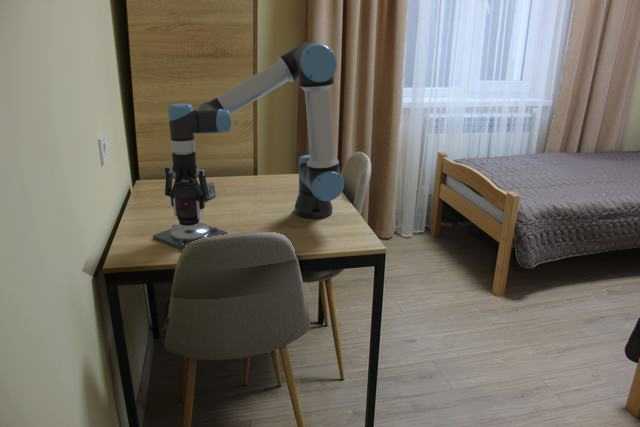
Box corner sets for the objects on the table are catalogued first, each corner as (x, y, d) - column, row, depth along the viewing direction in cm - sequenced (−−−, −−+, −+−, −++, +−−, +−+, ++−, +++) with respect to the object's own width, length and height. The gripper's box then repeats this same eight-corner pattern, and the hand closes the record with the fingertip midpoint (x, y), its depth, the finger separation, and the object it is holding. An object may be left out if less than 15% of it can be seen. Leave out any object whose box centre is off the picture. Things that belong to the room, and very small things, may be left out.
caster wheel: (202, 197, 227) (222, 196, 224) (187, 199, 217) (208, 198, 213) (200, 182, 226) (220, 181, 223) (186, 183, 216) (207, 182, 213)
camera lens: (199, 226, 174) (196, 184, 168) (175, 227, 173) (171, 184, 168) (203, 218, 181) (200, 177, 176) (179, 218, 181) (176, 177, 175)
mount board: (227, 235, 181) (227, 227, 180) (186, 252, 167) (186, 244, 166) (193, 223, 191) (192, 215, 190) (152, 238, 178) (151, 230, 177)
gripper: (217, 151, 170) (221, 215, 178) (160, 147, 174) (166, 209, 182) (208, 156, 163) (212, 223, 171) (149, 152, 167) (155, 217, 175)
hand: (188, 216), depth 176 cm, fingers closed on camera lens, 8 cm apart
